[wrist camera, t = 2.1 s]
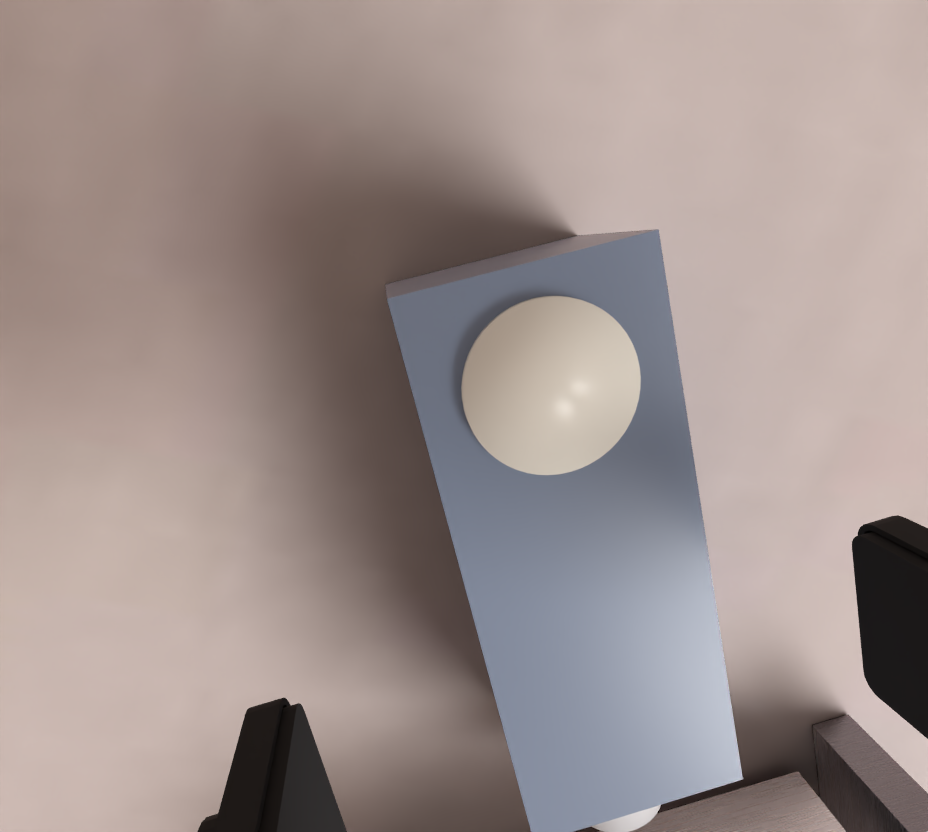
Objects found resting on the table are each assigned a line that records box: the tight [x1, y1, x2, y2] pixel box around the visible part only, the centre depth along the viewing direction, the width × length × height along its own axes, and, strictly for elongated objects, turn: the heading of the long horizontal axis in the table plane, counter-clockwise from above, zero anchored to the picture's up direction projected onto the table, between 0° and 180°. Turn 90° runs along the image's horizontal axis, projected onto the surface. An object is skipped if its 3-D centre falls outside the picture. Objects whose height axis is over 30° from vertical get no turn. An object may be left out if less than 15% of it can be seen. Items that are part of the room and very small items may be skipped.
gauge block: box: [385, 230, 743, 832], centre depth 15 cm, size 5×14×5 cm, turn 13°
